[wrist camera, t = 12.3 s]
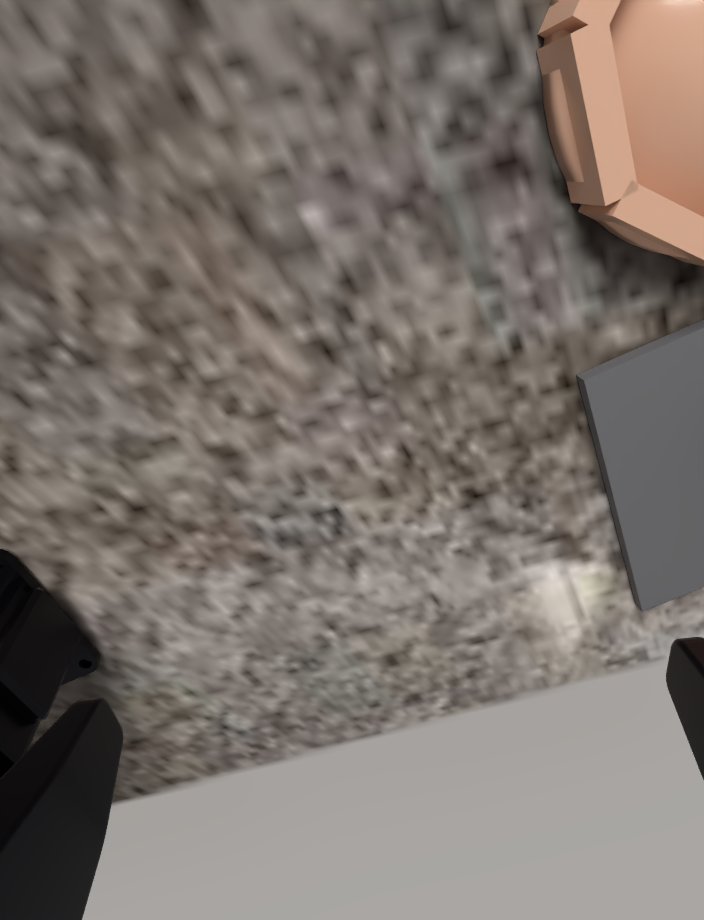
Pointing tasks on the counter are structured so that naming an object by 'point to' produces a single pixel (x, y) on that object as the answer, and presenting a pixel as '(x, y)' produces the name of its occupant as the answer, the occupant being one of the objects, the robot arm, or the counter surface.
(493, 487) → the counter surface
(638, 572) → the dark grey flat plate
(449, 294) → the counter surface
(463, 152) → the counter surface
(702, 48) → the dish
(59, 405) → the counter surface
